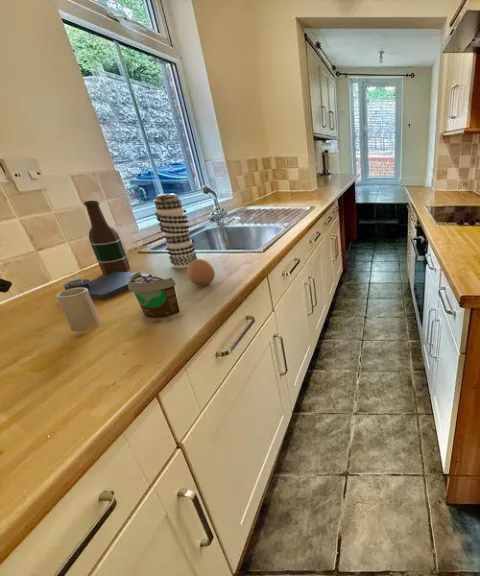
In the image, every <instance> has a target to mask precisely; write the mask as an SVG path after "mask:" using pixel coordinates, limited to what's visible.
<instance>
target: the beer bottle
mask: <svg viewBox="0 0 480 576" xmlns="http://www.w3.org/2000/svg"><path fill="white" fill-rule="evenodd" d="M83 206H85V209H86V211H87V214H88V218H89V221H90V226H91V227H90V229H89V232H88V240H89V243H90V246H91V248H92V251H93V253H94V255H95V258H96V260H97V263H98V265H99V268H100V271H101V272H102V274H104V275H107V274H110V273H113V272H116V271H118V272H127V271H128V272H129V270H130V269H131V266H130V262H129V260H128V258H127V254H126V252H125V248H124V246H123V244H122V243H123V242H122V240H121V238H120V236H119V233H118V232H117V231H116V230H115V229H114V228H113V227H112V226H110V224H108V222H107V220H106V218H105V216H104V213H103V212H102V209H101V207H100V202H99V201H98V200H86V201H84V202H83Z"/></svg>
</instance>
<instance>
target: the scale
mask: <svg viewBox="0 0 480 576" xmlns="http://www.w3.org/2000/svg"><path fill="white" fill-rule="evenodd" d="M136 273H137V272H129V271H128V272H127V271H126V272H118V271H116V272H113V273H110V274H104V275H102V276H99V277H96V278H94V279H85V278H84V279H83V278H82V280H83V282H84V283H82V284H79V285H71V284H70V282H69V281H68V282H66V283H65V284H64V285H63V289H64V290H63V291H65V290H68V289H73V288H81V287H82V288H87V290H88V292H89V294H90V297H91V299H92V300H94V301H95V300H96V301H107V300H110V299H113V298H114V297H116V296H119V295H121V294H123V293H125V292H128V291H130V290H129V288H128V281H129V280H128V279H129V278H130V277H131V276H132V275H134V274H136ZM140 273H141V272H140ZM141 276H147V277H153V275H152V274H151V273H143V272H142V273H141Z"/></svg>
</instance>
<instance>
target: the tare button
mask: <svg viewBox="0 0 480 576" xmlns="http://www.w3.org/2000/svg"><path fill="white" fill-rule="evenodd" d="M69 282H70V284H71V285H79V284H82V283H84V282H83V278H82V276H75V277H72V278H71V277H70V278H69V279H68V283H69Z"/></svg>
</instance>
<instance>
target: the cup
mask: <svg viewBox="0 0 480 576" xmlns="http://www.w3.org/2000/svg"><path fill="white" fill-rule="evenodd" d="M64 290H65V289H64ZM64 290H62V291H60V292H58V293H56V294H55V298H56V300H57V302H58V305H59V306H60V309H61V311H62V312H63V315H64V317H65V319H66V321H67V323H68V325H69V328H70V329H71V331H72V332H84V331H87V330H90V329H93V328H95V327H97V326H99V325H100V324H101V323H102V320H101V318H100V315H99V313H98V310H97V308H96V305H95V304H94V301H93V299H91V297H90V294H89V292H88V290H87V288H82V287H81V288H73V289H68V290H65V291H64Z"/></svg>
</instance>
